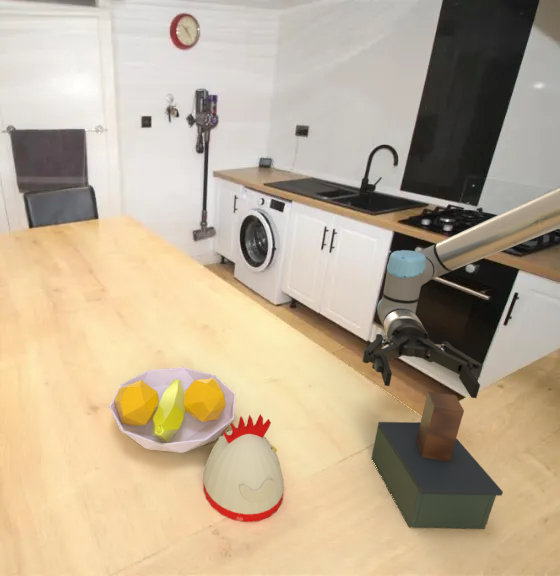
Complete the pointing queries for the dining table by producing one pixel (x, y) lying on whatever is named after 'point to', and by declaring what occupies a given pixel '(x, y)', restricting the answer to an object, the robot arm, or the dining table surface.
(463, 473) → the dark grey flat panel
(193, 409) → the fruit bowl
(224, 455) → the kitchen timer
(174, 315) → the dining table surface
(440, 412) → the block
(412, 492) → the dark green tray box
